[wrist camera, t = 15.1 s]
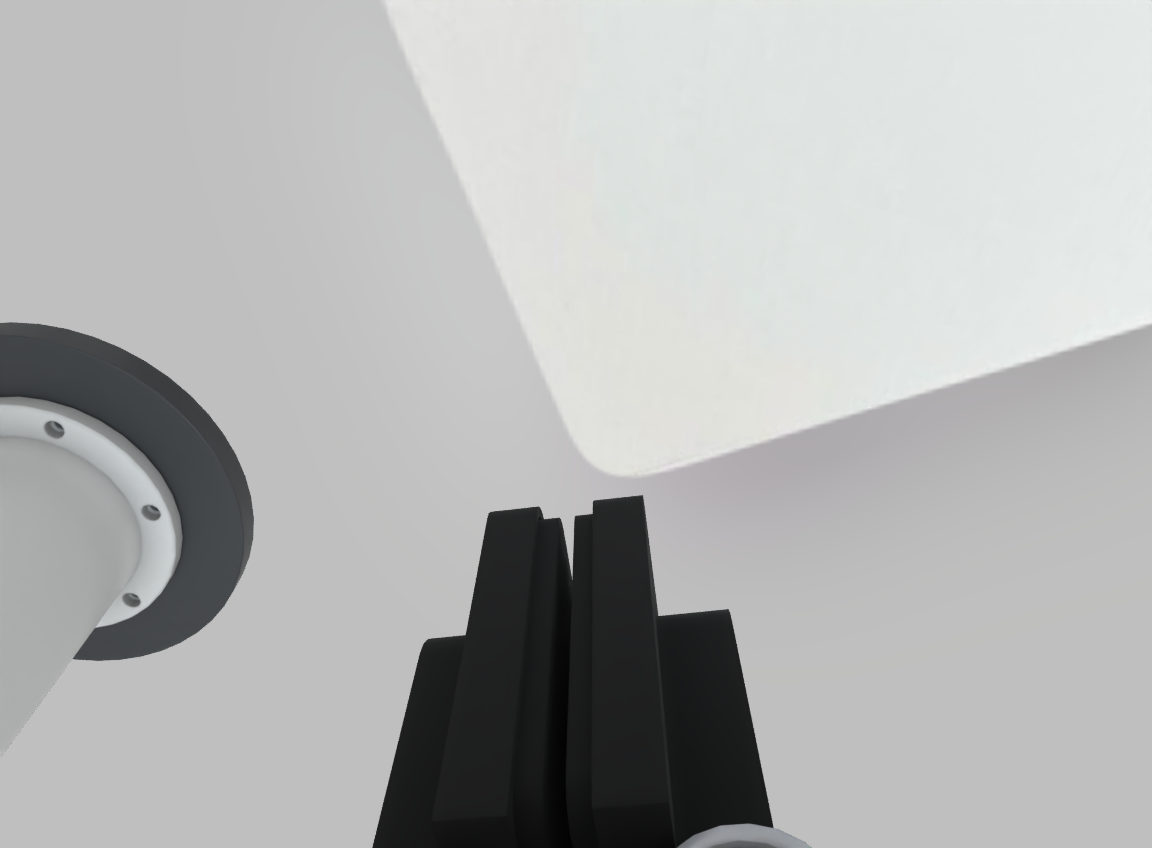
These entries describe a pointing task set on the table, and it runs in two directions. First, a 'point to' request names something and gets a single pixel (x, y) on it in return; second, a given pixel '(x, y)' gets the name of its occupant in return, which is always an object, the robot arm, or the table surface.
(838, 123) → the table surface
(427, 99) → the table surface
